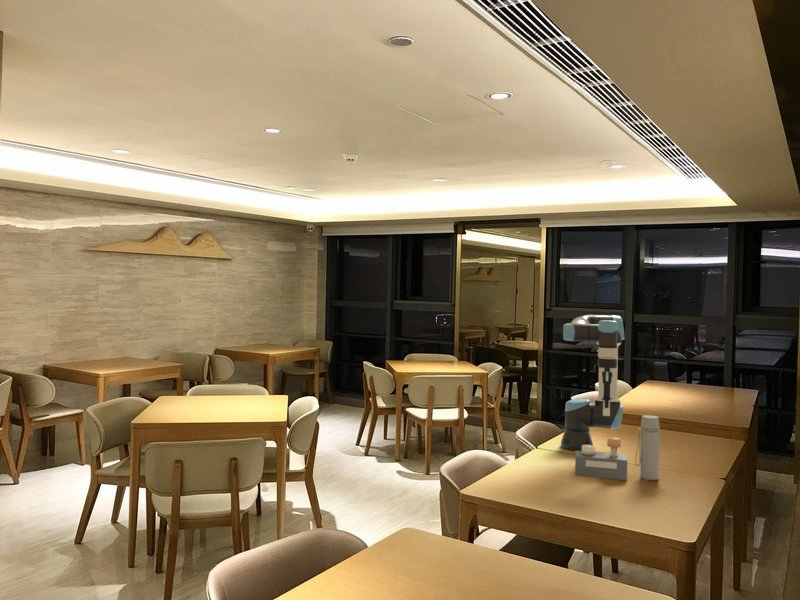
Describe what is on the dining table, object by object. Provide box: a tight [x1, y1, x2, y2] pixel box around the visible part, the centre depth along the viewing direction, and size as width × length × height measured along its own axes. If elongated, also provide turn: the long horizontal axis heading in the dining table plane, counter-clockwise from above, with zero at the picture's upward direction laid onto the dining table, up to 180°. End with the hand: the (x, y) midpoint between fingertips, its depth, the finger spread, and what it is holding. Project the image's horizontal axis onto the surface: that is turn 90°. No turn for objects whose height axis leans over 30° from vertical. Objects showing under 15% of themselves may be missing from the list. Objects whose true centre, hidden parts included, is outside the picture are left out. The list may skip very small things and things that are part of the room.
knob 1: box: [582, 444, 596, 455], centre depth 265 cm, size 5×5×11 cm
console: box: [574, 451, 628, 481], centre depth 263 cm, size 10×20×8 cm, turn 74°
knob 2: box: [606, 436, 622, 458], centre depth 262 cm, size 5×5×11 cm
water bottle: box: [635, 414, 661, 481], centre depth 259 cm, size 9×8×25 cm
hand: (606, 415), depth 262 cm, fingers closed
